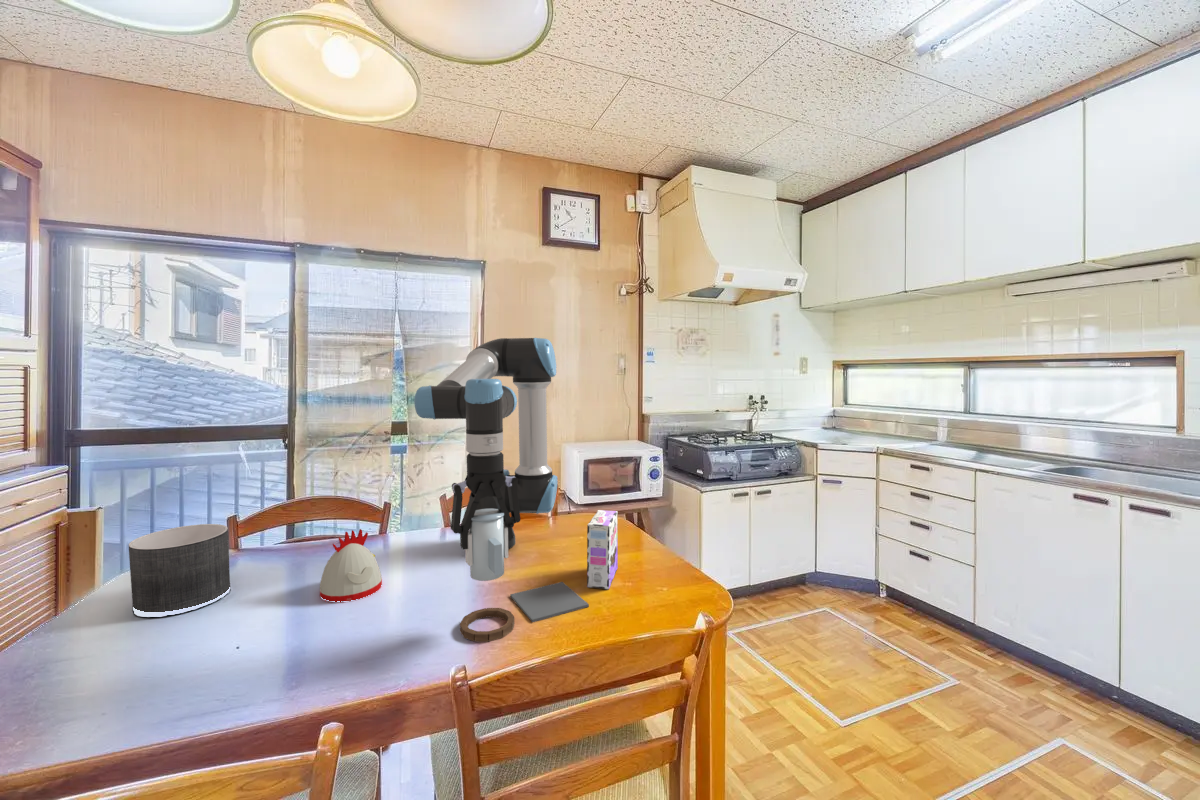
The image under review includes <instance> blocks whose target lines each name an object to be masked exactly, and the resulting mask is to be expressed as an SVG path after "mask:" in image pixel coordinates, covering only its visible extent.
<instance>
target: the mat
mask: <svg viewBox="0 0 1200 800" xmlns="http://www.w3.org/2000/svg"><path fill="white" fill-rule="evenodd" d="M509 595H510V596H509V597H510V599H512V601H513V602H514V603H515V604H516V605H517V606H518V607H519V609H520V610H521V611H522V612H523V613H524V615H525V616H526V617H527V618H528V619H529V620H530V621H531V623H535V622H539V621H542V620H546V619H550V618H553V617H557V616H560V615H564V614H567V613H571V612H575V611H579V610H582V609H585V608H589V605H590V604H589V603H588V602H587V601H586V600H584V599H583V598H582V597H581V596H580V595H579V594H577V593H576V592H575V591H574V590H573V589H572V588H570V587H569V586H568V585H567V584H565V582H564V581H560V582H556V583H555V582H554V583H551V584H548V585H544V586H539V587H535V588H530V589H526V590H523V591H519V592H515V593H510V594H509Z"/></svg>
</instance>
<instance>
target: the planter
mask: <svg viewBox="0 0 1200 800" xmlns="http://www.w3.org/2000/svg"><path fill="white" fill-rule="evenodd" d="M229 546H230V545H229V528H228V526H226V525H224V524H220V523H219V524H217V523H203V524H202V523H201V524H191V525H183V526H178V527H172V528H168V529H167V528H166V529H162V530H157V531H154V532H150V533H148V534H145V535H141V536H139V537H137V538H134V539H133V540H132V541H130V542H129V543H128V558H129V573H130V584H131V585H130V587H131V602H132V607H134V608H135V609H137V610H140V611H144V612H165V611H173V610H179V609H183V608H188V607H192V606H196V605H199V604H202V603H205V602H208V601H210V600H213V599H215V598H217V597H218V596H220V595H222V594H223V593H225V592H226V591H227V590H228V589H229V587H231V580H230V579H231V576H230V573H231V572H230V549H229V548H230V547H229Z"/></svg>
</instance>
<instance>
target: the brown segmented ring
mask: <svg viewBox="0 0 1200 800" xmlns="http://www.w3.org/2000/svg"><path fill="white" fill-rule="evenodd" d="M485 618H498V619H502V620H505V621H506V623H505V624H504V625H502V626H499V628H495V629H491V630H486V631H485V630H482V631H481V630H479V631H478V630H475V629H472V628H470V627H469V625H470V624H472V623H473V622H475V621H477V620H480V619H481V620H482V619H485ZM515 624H516V623H515V615H513V613H512V611H510V610H507V609H504V608H502V607H485V608H481V609H476V610H473V611H472V612H470V613H468V614H466V615H465V616H464V617H463V618H462V620H461V621H460V622H459V631H460V634H461V636H462V637H463V638H464V639H467V640H469V641H471V642H475V643H476V642H477V643H479V642H480V643H481V642H482V643H483V642H484V643H485V642H486V643H487V642H492V641H496V640H499V639H503V638H504V637H506V636H507V635H509V634H511V632H513V630H514V626H515Z"/></svg>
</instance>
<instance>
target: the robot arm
mask: <svg viewBox="0 0 1200 800" xmlns="http://www.w3.org/2000/svg"><path fill="white" fill-rule="evenodd" d="M556 360H557V359H556V354H555V349H554V346H553V344H552V341H550V340H549V339H548V338H541V337H518V338H517V337H515V338H514V337H512V338H505V337H504V338H496V339H492V340H489V341H487V342H485V343H483V344H480V345H478V346H476V347H475V348H474V349H472V350H471V351H470V352H469V353H468V354H467V356H466V358H465V361H464V362H463V363H461V364H460V365H458V367H457V368H456V369H454V370H453V371H452V372H451V373H449V375H448V376H446V377H445V378H444V379H442V381H441V382H439V383H438V384H437V385H425V386H424V385H423V386H420V387H419V388H418V389H417V390H416V391H415V395H414V399H413V401H414V402H413V403H414V408H415V409H414V410H415V412H416V414H417V415H418V417H419V418H421V419H428V420H429V419H430V420H431V419H432V420H461V419H462V420H463V419H465V436H466V437H465V438H466V439H465V442H466V443H465V445H466V446H465V447H466V448H465V451H466V452H467V453H468V454H467V455H466V477H465V478H464V480H463V481H460V482H458V483H457V482H453V483H452V484H451V489H452V492H453V500H452V508H451V509H452V510H451V520H450V530H452V532H453V533H454V534H459V537H460V538H459V539H460V540H459V541H460V548H461V549H462V550H464V551H465V556H464V557H465V562H466V564H467V565H468V566H469V567H470V566H471V565H473V556H472V534H471V533H470V531H469V529H470V526H471V523H472V520H471V518H473V517H474V514H475V511H476V510H480V509H498V510H499V511H501V512H502V513H504V517H503V531H504V559H508V558H509V549H512V548H513V547H514V546H515V545H516V534H515V530H514V528H513V527H514V526H515V524H516V523H520V522H521V520H522V519H521V514H536V515H538V514H548V513H551V511H552V510H553V508H554V505H555V502H556V499H557V491H558V476H557V475H555V474H553V468H552V467H551V466H550V465H549V463H548V424H547V423H548V422H547V421H548V420H547V417H548V416H547V414H548V413H547V410H548V409H547V406H548V405H547V388H548V387H549V385H550V384H552V378H554V377H556V375H557V361H556ZM495 377H508V378H509V377H512V383H513V385H514V386H516V388H517V395H516V393H515V391H514V390H513V389H512V388H510V387H508V386H506V385H503V383H502V380H501V379H499V378H495ZM517 404H518V406H517ZM516 407H518V409H517V410H518V448H519V449H518V452H519V453H518V454H519V456H518V457H519V459H518V460H519V463H518V466H517V468H515V470H514V474H511V473H510V471H509V469H505V468H504V467H505V466H504V464H505V463H504V454H503V452H502V451H503V450H504V428H503V427H504V419H505V418H508V417H510V415H511V414H512V413H514V411H515V410H516ZM466 488H468V489H469V490H470V494H469V497H468V498H469V499H468V503H467V506H466V508H465V511H464V514H463V517H462V510H463V509H462V507H463V497H464V496H463V494H464V493H465V489H466ZM461 517H462V518H461Z"/></svg>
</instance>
